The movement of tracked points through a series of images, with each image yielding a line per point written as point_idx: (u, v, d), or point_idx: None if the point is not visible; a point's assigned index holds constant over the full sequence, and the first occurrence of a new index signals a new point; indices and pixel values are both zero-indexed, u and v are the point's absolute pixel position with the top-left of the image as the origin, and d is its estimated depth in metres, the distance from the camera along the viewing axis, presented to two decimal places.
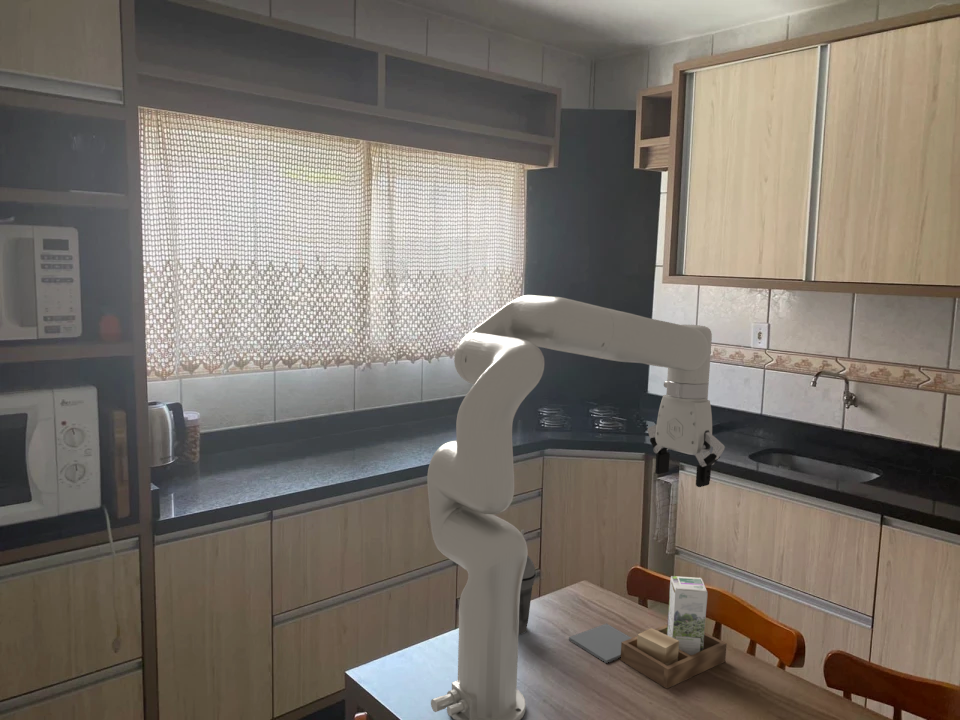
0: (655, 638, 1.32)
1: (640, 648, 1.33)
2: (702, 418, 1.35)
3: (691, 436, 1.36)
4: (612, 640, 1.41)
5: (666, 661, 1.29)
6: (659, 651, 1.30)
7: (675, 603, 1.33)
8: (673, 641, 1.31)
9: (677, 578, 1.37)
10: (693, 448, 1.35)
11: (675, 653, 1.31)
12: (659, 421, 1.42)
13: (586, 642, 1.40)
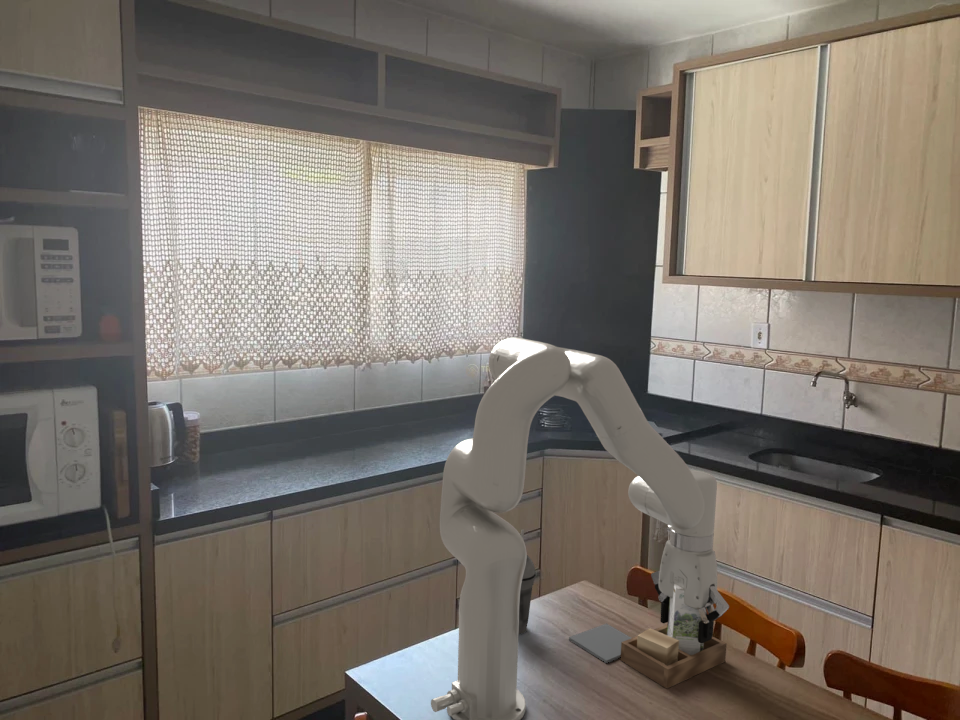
0: (655, 638, 1.32)
1: (640, 649, 1.32)
2: (707, 573, 1.30)
3: (696, 591, 1.31)
4: (612, 640, 1.41)
5: (667, 661, 1.29)
6: (660, 651, 1.30)
7: (675, 603, 1.33)
8: (673, 641, 1.31)
9: None
10: (698, 603, 1.30)
11: (675, 653, 1.31)
12: (662, 568, 1.37)
13: (586, 642, 1.40)
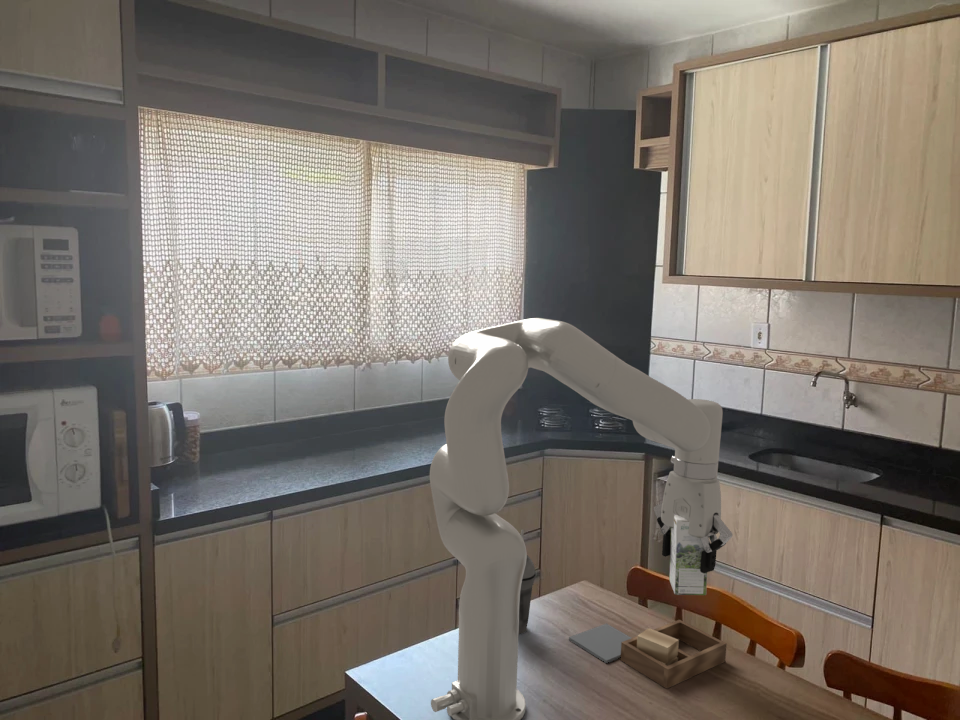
0: (655, 638, 1.32)
1: (640, 649, 1.32)
2: (711, 500, 1.28)
3: (699, 519, 1.29)
4: (612, 640, 1.41)
5: (668, 661, 1.29)
6: (660, 651, 1.30)
7: (677, 535, 1.31)
8: (673, 640, 1.31)
9: None
10: (701, 531, 1.28)
11: (675, 652, 1.31)
12: (665, 499, 1.35)
13: (586, 642, 1.40)
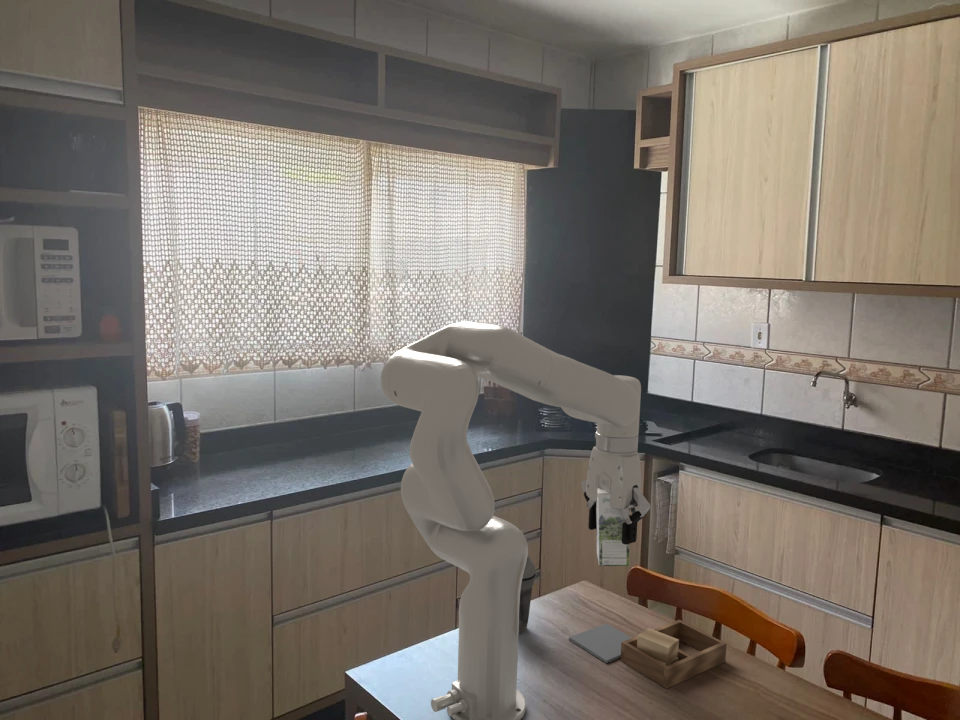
0: (655, 638, 1.32)
1: (640, 649, 1.32)
2: (630, 473, 1.31)
3: (619, 491, 1.32)
4: (612, 640, 1.41)
5: (668, 661, 1.29)
6: (661, 651, 1.30)
7: (599, 508, 1.34)
8: (673, 640, 1.31)
9: None
10: (621, 504, 1.32)
11: (675, 652, 1.31)
12: (589, 473, 1.38)
13: (586, 642, 1.40)
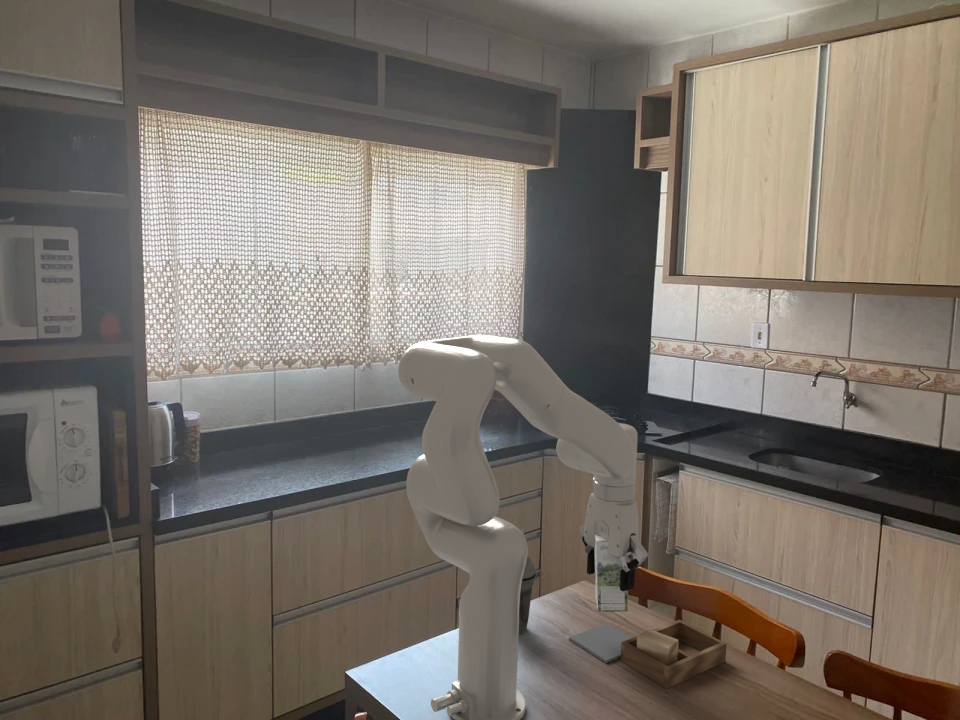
0: (655, 639, 1.32)
1: None
2: (627, 521, 1.33)
3: (616, 539, 1.33)
4: (612, 640, 1.41)
5: (668, 661, 1.29)
6: (661, 651, 1.29)
7: (597, 555, 1.36)
8: (673, 640, 1.31)
9: None
10: (618, 552, 1.33)
11: (675, 652, 1.31)
12: (587, 520, 1.39)
13: (586, 642, 1.40)
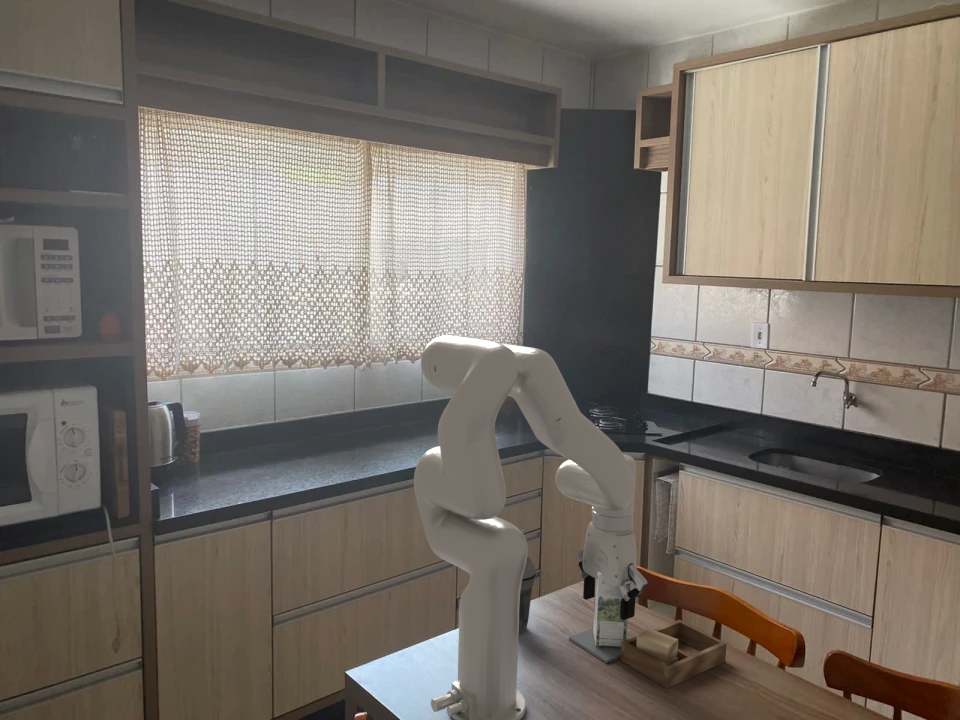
0: (655, 638, 1.32)
1: (640, 649, 1.32)
2: (625, 552, 1.33)
3: (614, 570, 1.34)
4: None
5: (668, 661, 1.29)
6: (660, 651, 1.30)
7: (598, 589, 1.37)
8: (673, 640, 1.31)
9: None
10: (616, 582, 1.34)
11: (675, 652, 1.31)
12: (585, 549, 1.40)
13: (586, 642, 1.40)
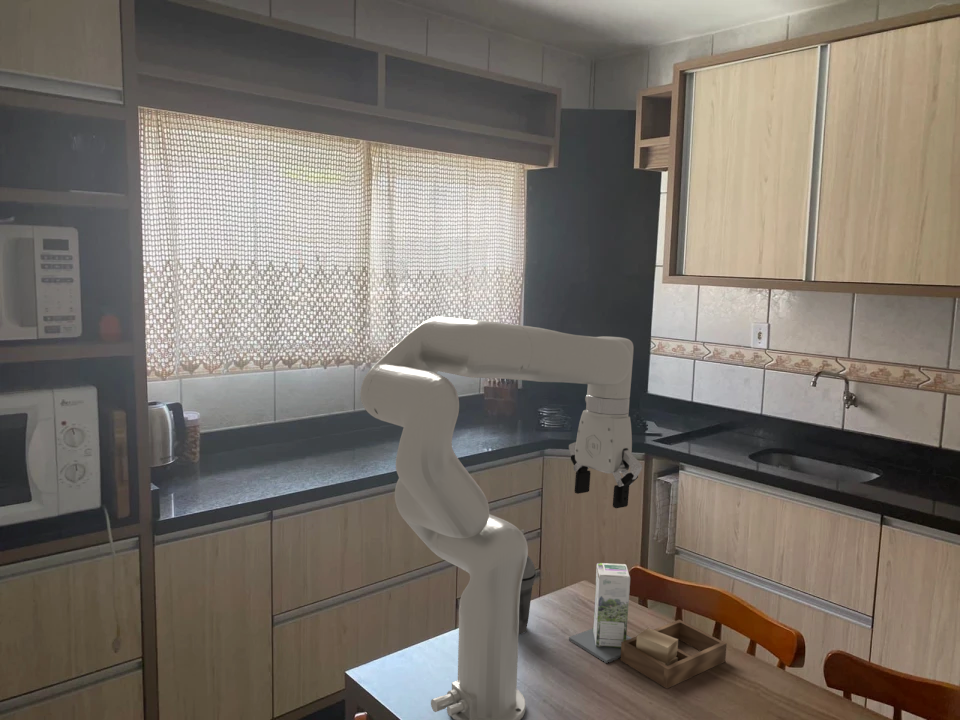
0: (654, 638, 1.32)
1: (640, 649, 1.32)
2: (620, 435, 1.28)
3: (608, 454, 1.28)
4: None
5: (668, 660, 1.29)
6: (660, 651, 1.30)
7: (599, 589, 1.37)
8: (672, 640, 1.31)
9: (602, 565, 1.40)
10: (610, 467, 1.28)
11: (675, 652, 1.31)
12: (578, 437, 1.34)
13: (586, 642, 1.40)
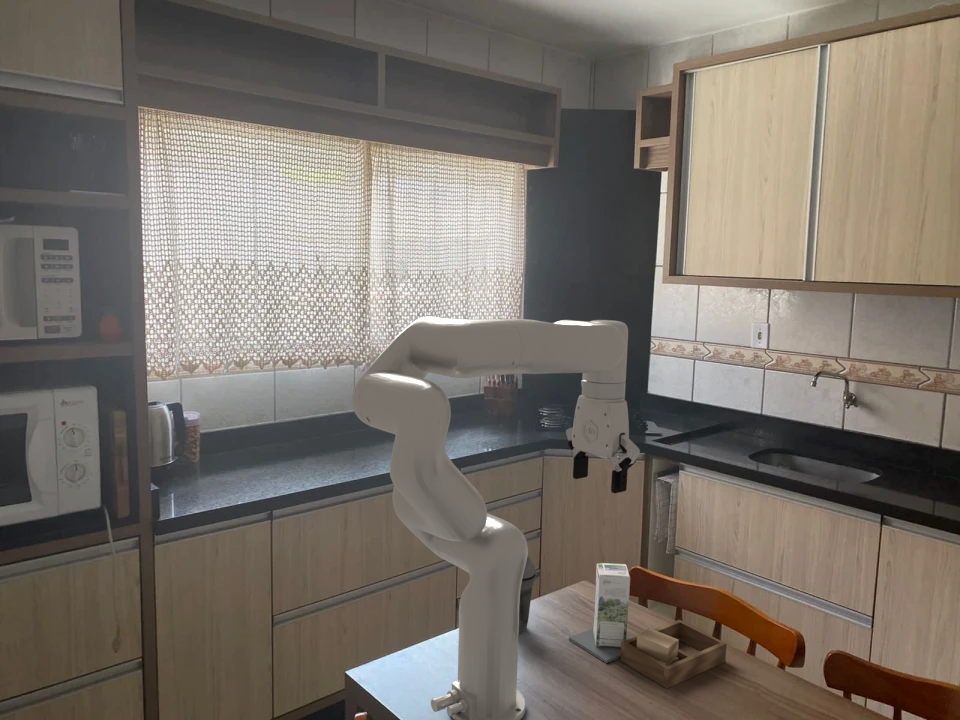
0: (655, 638, 1.32)
1: (640, 649, 1.32)
2: (617, 420, 1.26)
3: (605, 439, 1.27)
4: None
5: (668, 661, 1.29)
6: (660, 651, 1.30)
7: (599, 589, 1.37)
8: (673, 640, 1.31)
9: (602, 565, 1.40)
10: (607, 452, 1.27)
11: (675, 652, 1.31)
12: (575, 423, 1.33)
13: (586, 642, 1.40)
